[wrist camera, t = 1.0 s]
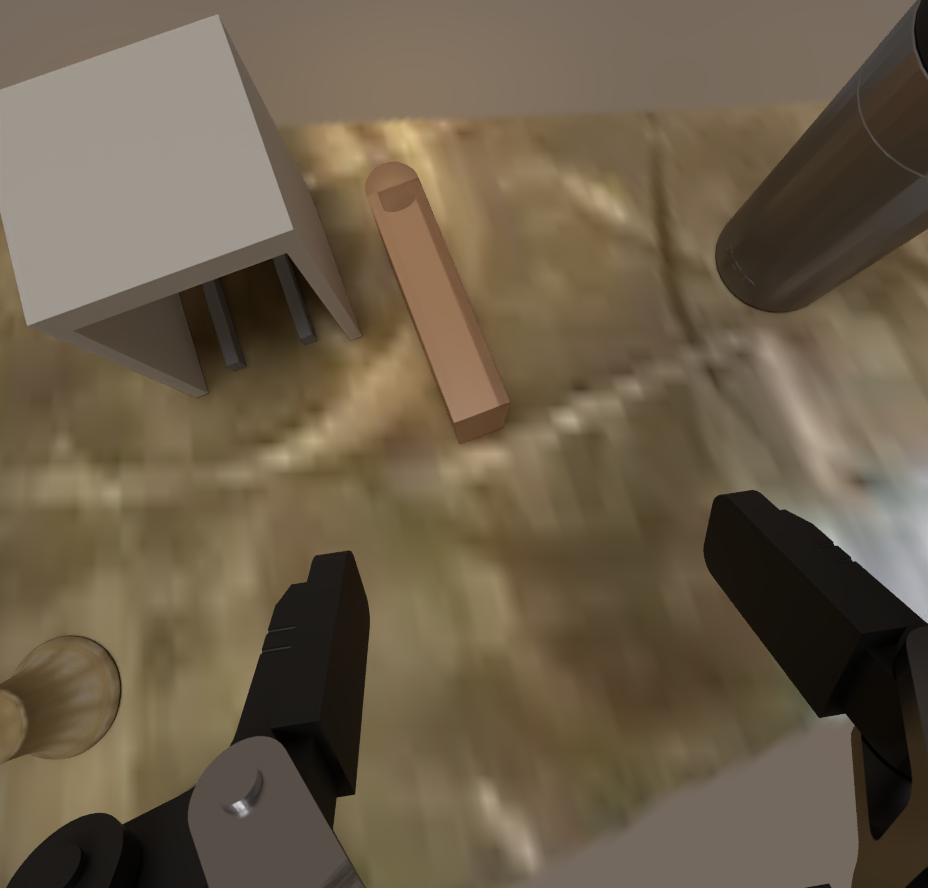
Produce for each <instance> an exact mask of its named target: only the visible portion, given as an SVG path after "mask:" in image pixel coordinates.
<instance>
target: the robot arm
mask: <svg viewBox="0 0 928 888" xmlns="http://www.w3.org/2000/svg"><path fill="white" fill-rule="evenodd" d="M927 229H928V0H917V1H916V2H915V3H914V4H913V5H912V7H911V8H910V9H909V10H908V11H907V13H906V14H905V15H904V16H903V17H902V18H901V20H900V21H899V22H898V23H897V24H896V25H895V27H894V28H893V29H892V30H891V31H890V32H889V34H888V35H887V36H886V37H885V38H884V40H883V41H882V42H881V43H880V44H879V45H878V47H877V48H876V50H874V52H873V53H872V54H871V55H870V56H869V58H868V59H867V60H866V61H865V62H864V64H863V65H862V66H861V67H860V68H859V69H858V71H857V72H856V73H855V74H854V75H853V76H852V78H851V79H850V80H849V81H848V82H847V84H846V85H845V86H844V87H843V88H842V90H841V91H840V92H839V93H838V94H837V95H836V96H835V98H834V99H833V100H832V101H831V102H830V104H829V105H828V106H827V107H826V108H825V109H824V111H823V112H822V113H821V114H820V115H819V116H818V118H817V119H816V120H815V121H814V122H813V124H812V125H811V126H810V127H809V128H808V129H807V131H806V132H805V133H804V134H803V135H802V136H801V138H800V139H799V140H798V141H797V142H796V143H795V145H794V146H793V147H792V148H791V149H790V151H789V152H788V153H787V154H786V155H785V156H784V158H783V159H782V160H781V161H780V162H779V163H778V165H777V166H776V167H775V168H774V169H773V171H772V172H771V173H770V174H769V175H768V176H767V178H766V179H765V180H764V181H763V182H762V183H761V185H760V186H759V187H758V188H757V189H756V190H755V191H754V193H753V194H752V195H751V196H750V197H749V199H748V200H747V201H746V202H745V203H744V204H743V206H742V207H741V208H740V209H739V210H738V212H737V213H736V214H735V215H734V216H733V217H732V219H731V220H730V221H729V222H728V223H727V225H726V226H725V228H724V229H723V231H722V232H721V234H720V236H719V239H718V242H717V247H716V261H717V267H718V270H719V272H720V275H721V278H722V279H723V281H724V282H725V284H726V285H727V287H728V288H729V289H730V290H731V291H732V292H733V293H734V294H735V295H736V296H737V297H738V298H740V299H741V300H743V301H744V302H746V303H747V304H749V305H751V306H754V307H756V308H758V309H762V310H767V311H771V312H787V311H793V310H797V309H800V308H802V307H805V306H808V305H809V304H811V303H812V302H814V301H815V300H817V299H819V298H820V297H822V296H823V295H825V294H826V293H828V292H830V291H831V290H833V289H834V288H836V287H837V286H839V285H841V284H842V283H844V282H845V281H847V280H849V279H850V278H852V277H853V276H855V275H857V274H858V273H860V272H861V271H863V270H864V269H866V268H867V267H869V266H871V265H872V264H874V263H875V262H877V261H878V260H880V259H881V258H883V257H885V256H886V255H888V254H889V253H891V252H892V251H894V250H896V249H897V248H899V247H900V246H902V245H903V244H905V243H906V242H908V241H910V240H911V239H913V238H914V237H916V236H917V235H919V234H920V233H922V232H924V231H925V230H927ZM703 551H704V559H705V562H706V565H707V568H708V570H709V572H710V573H711V575H712V576H713V578H714V579H715V580H716V582H717V583H718V584H719V586H720V587H721V588H722V590H723V591H724V592H725V594H726V595H727V596H728V598H729V599H730V600H731V602H732V603H733V604H734V606H735V607H736V608H737V609H738V611H739V612H740V613H741V615H742V616H743V617H744V619H745V620H746V621H747V623H748V624H749V625H750V627H751V628H752V629H753V631H754V632H755V633H756V635H757V636H758V637H759V639H760V640H761V641H762V643H763V644H764V645H765V647H766V648H767V649H768V651H769V652H770V653H771V655H772V656H773V657H774V659H775V660H776V661H777V663H778V664H779V665H780V667H781V668H782V669H783V671H784V672H785V673H786V675H787V676H788V677H789V679H790V680H791V681H792V682H793V684H794V685H795V686H796V688H797V689H798V690H799V692H800V693H801V694H802V696H803V697H804V698H805V700H806V701H807V702H808V704H809V705H810V706H811V708H812V709H813V710H814V712H815V713H816V714H817V716H818V717H819V718H822V717H828V716H834V715H840V714H846V715H847V716H848V717H849V719H850V720H851V721H852V722H853V723H854V725H855V726H854V728H853V730H852V733H851V746H852V759H853V772H854V786H855V799H856V813H857V826H858V841H859V847H858V857H857V863H856V866H855V869H854V873H853V879H852V886H851V888H928V623H926V622H925V621H924V620H923V619H921V618H920V617H919V616H918V615H917V614H916V613H915V612H913V611H912V610H911V609H910V608H909V607H908V606H907V605H905V604H904V603H903V602H902V601H901V600H900V599H898V598H897V597H896V596H895V595H894V594H893V593H892V592H890V591H889V590H888V589H887V588H886V587H885V586H883V585H882V584H881V583H880V582H879V581H878V580H877V579H875V578H874V577H873V576H872V575H871V574H870V573H868V572H867V571H866V570H865V569H864V568H863V567H862V566H860V565H859V564H858V563H857V562H856V561H855V562H853V561H852V560H851V557H850V556H849V555H848V554H847V553H845V552H844V551H843V550H842V549H841V548H840V547H839V546H834V544H833V541H832V540H830V539H829V538H828V537H827V536H826V535H825V534H824V533H822V532H821V531H820V530H819V529H818V528H817V527H815V526H814V525H813V524H812V523H810V522H808V521H806V520H804V519H802V518H800V517H798V516H796V515H795V514H793V513H791V512H789V511H787V510H779V509H778V508H777V507H775V506H774V505H773V504H772V503H771V502H770V501H769V500H768V499H767V498H766V497H764V496H763V495H762V494H761V493H760V492H758V491H755V490H749V491H743V492H736V493H730V494H723V495H718V496H717V497H716V498H715V499H714V501H713V504H712V509H711V513H710V518H709V523H708V528H707V533H706V537H705V542H704V549H703ZM369 630H370V614H369V606H368V600H367V596H366V593H365V590H364V587H363V584H362V581H361V577H360V574H359V571H358V568H357V565H356V561H355V558H354V555H353V553H352V552H351V551H343V552H336V553H329V554H323V555H316V556H315V557H314V558H313V561H312V564H311V568H310V572H309V576H308V580H307V582H305V583H298V584H292V585H291V586H290V587H289V589H288V590H287V591H286V593H285V594H284V595H283V597H282V598H281V599H280V600H279V602H278V603H277V604H276V606H275V609H274V612H273V615H272V618H271V622H270V625H269V628H268V634H267V635H266V638H265V641H264V644H263V647H262V654H260V657H259V660H258V664H257V667H256V670H255V673H254V676H253V680H252V683H251V686H250V689H249V693H248V696H247V699H246V702H245V705H244V709H243V712H242V715H241V718H240V722H239V725H238V728H237V731H236V734H235V737H234V739H233V741H232V743H231V745H230V747H229V748H228V749H226V750H225V751H223V752H222V753H221V754H220V755H219V756H218V757H216V759H215V760H214V761H213V762H212V763H211V764H210V765H209V766H208V767H207V769H206V770H205V771H204V773H203V774H202V776H201V777H200V779H199V781H198V782H197V784H196V785H195V786H194V787H193V788H191V789H190V790H188V791H187V792H185V793H183V794H181V795H180V796H178V797H176V798H174V799H172V800H170V801H168V802H166V803H164V804H162V805H160V806H158V807H156V808H154V809H152V810H150V811H148V812H146V813H144V814H142V815H140V816H138V817H136V818H134V819H132V820H130V821H128V822H126V823H125V824H123V825H122V824H121V823H120V822H119V821H118V820H117V819H116V818H114V817H113V816H112V815H109V814H106V813H94V814H89V815H85V816H82V817H80V818H77V819H75V820H73V821H71V822H69V823H68V824H66V825H64V826H63V827H61V828H60V829H58V830H57V831H56V832H54V833H53V834H52V835H50V836H49V837H48V838H47V839H46V840H44V841H43V842H42V843H41V844H40V845H39V846H38V847H37V848H36V849H35V850H34V851H33V852H32V853H31V854H30V855H29V856H28V858H27V859H26V860H25V861H24V862H23V864H22V865H21V866H20V867H19V869H18V870H17V872H16V873H15V874H14V876H13V877H12V879H11V880H10V882H9V884H8V885H7V887H6V888H366V887H365V886H364V884H363V882H362V880H361V878H360V877H359V875H358V873H357V871H356V870H355V868H354V866H353V864H352V863H351V861H350V859H349V857H348V856H347V854H346V852H345V850H344V849H343V847H342V845H341V843H340V842H339V840H338V838H337V836H336V834H335V833H334V831H333V824H334V815H335V807H336V798H337V797H343V796H349V795H354V794H355V790H356V778H357V767H358V755H359V744H360V733H361V721H362V710H363V698H364V687H365V675H366V664H367V653H368V641H369ZM808 888H831V886H830V885H829V884H824V885H819V886H813V887H808Z"/></svg>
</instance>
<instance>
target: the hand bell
mask: <svg viewBox="0 0 928 888" xmlns="http://www.w3.org/2000/svg"><path fill="white" fill-rule="evenodd" d="M119 697H120V680H119V676H118V671H117V668H116V666H115V664H114V662H113V660H112V659H111V657H110V656H109V655H108V653H107V652H106V651H105V650H104V649H103V648H102V647H101V646H99V645H98V644H97V643H95V642H93V641H91V640H89V639H86V638H83V637H77V636H64V637H58V638H55V639H52V640H49V641H47V642H45V643H43V644H41V645H40V646H38V647H37V648H35V649H34V650H33V651H31V652H30V653H29V654H28V655H27V656H26V657H25V658H24V659H23V661H22V662H21V663H20V664H19V665H18V667H17V668H16V670H15V671H14V673H13V675H12V677H11V678H10V679H8V680H7V681H5V682H3V683H1V684H0V764H2V763H4V762H6V761H9V760H12V759H14V758H17V757H20V756H23V755H26V754H31V755H33V756H36V757H39V758H43V759H65V758H70V757H73V756H76V755H79V754H81V753H83V752H85V751H86V750H88V749H89V748H91V747H92V746H93V745H94V744H96V743H97V742H98V741H99V740H100V739H101V738H102V737H103V736H104V734H105V733H106V732H107V730H108V729H109V727H110V725H111V724H112V722H113V720H114V718H115V715H116V712H117V709H118V705H119Z"/></svg>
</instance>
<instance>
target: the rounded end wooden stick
mask: <svg viewBox="0 0 928 888" xmlns="http://www.w3.org/2000/svg"><path fill="white" fill-rule="evenodd" d="M365 191H366V195H367V198H368V201H369V204H370V207H371V210H372V213H373V216H374V218H375V221H376V224H377V227H378V230H379V233H380V236H381V239H382V242H383V244H384V247H385V250H386V253H387V256H388V259H389V262H390V264H391V267H392V270H393V272H394V275H395V277H396V280H397V283H398V285H399V288H400V290H401V293H402V296H403V298H404V301H405V304H406V306H407V309H408V311H409V314H410V317H411V319H412V322H413V324H414V327H415V330H416V332H417V335H418V337H419V340H420V343H421V345H422V348H423V350H424V353H425V356H426V358H427V361H428V364H429V366H430V369H431V371H432V374H433V377H434V379H435V382H436V384H437V387H438V390H439V392H440V395H441V397H442V400H443V403H444V405H445V408H446V410H447V413H448V416H449V418H450V421H451V424H452V426H453V429H454V431H455V434H456V437H457V439H458V442H459V444H461V443H463V442H466V441H469V440H471V439H474V438H477V437H479V436H482V435H485V434H487V433H490V432H492V431H495V430H498V429H500V428H503V426H504V422H505V419H506V415H507V411H508V408H509V404H510V400H509V398H508V395H507V393H506V391H505V388H504V386H503V383H502V381H501V378H500V376H499V373H498V371H497V369H496V366H495V364H494V361H493V359H492V356H491V354H490V351H489V349H488V346H487V344H486V342H485V339H484V337H483V334H482V332H481V329H480V327H479V324H478V322H477V320H476V317H475V315H474V312H473V310H472V307H471V305H470V302H469V300H468V298H467V295H466V293H465V290H464V288H463V285H462V283H461V280H460V278H459V275H458V273H457V271H456V268H455V266H454V263H453V261H452V258H451V256H450V253H449V251H448V249H447V246H446V244H445V241H444V239H443V236H442V234H441V231H440V229H439V226H438V224H437V222H436V219H435V217H434V214H433V212H432V209H431V207H430V204H429V202H428V200H427V197H426V195H425V192H424V190H423V187H422V185H421V182H420V180H419V178H418V175H417V174H416V172H415V171H414V170H413V169H412V168H411V167H409V166H408V165H405V164H403V163H398V162H390V163H385V164H382V165H380V166H378V167H377V168H375V169H374V170H373V171H372V172H371V173H370V175H369V176H368V178H367V181H366V186H365Z"/></svg>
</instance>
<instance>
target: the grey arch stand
mask: <svg viewBox="0 0 928 888" xmlns="http://www.w3.org/2000/svg"><path fill="white" fill-rule="evenodd" d="M0 213H1V217H2V221H3V225H4V230H5V234H6V238H7V242H8V247H9V251H10V255H11V259H12V264H13V268H14V272H15V276H16V281H17V285H18V289H19V294H20V298H21V302H22V306H23V311H24V315H25V319H26V323H27V326H29V327H31V328H33V329H36V330H38V331H40V332H43V333H45V334H47V335H50V336H52V337H54V338H57V339H59V340H61V341H64V342H66V343H69V344H71V345H73V346H76V347H78V348H80V349H83V350H85V351H87V352H90V353H92V354H94V355H97V356H99V357H101V358H104V359H106V360H109V361H111V362H113V363H116V364H118V365H120V366H123V367H125V368H127V369H130V370H132V371H134V372H137V373H139V374H142V375H144V376H146V377H149V378H151V379H153V380H156V381H158V382H160V383H163V384H165V385H167V386H170V387H172V388H174V389H177V390H179V391H182V392H184V393H186V394H189V395H191V396H193V397H196V398H197V397H200V396H202V395H205V394H208V391H207V387H206V384H205V381H204V377H203V374H202V371H201V367H200V364H199V360H198V357H197V354H196V350H195V347H194V344H193V340H192V337H191V334H190V330H189V327H188V323H187V320H186V317H185V313H184V310H183V307H182V303H181V300H180V296H179V293H178V292H181V291H184V290H186V289H189V288H192V287H195V286H197V285H200V284H201V285H202V288H203V291H204V294H205V298H206V301H207V304H208V307H209V311H210V314H211V317H212V320H213V324H214V327H215V330H216V333H217V337H218V340H219V343H220V346H221V350H222V353H223V356H224V360H225V363H226V366H227V367H229V368H230V369H232V370H234V371H236V370H239V369H241V368H244V367H246V364H245V361H244V357H243V354H242V351H241V348H240V345H239V341H238V338H237V335H236V332H235V329H234V325H233V322H232V319H231V316H230V313H229V310H228V306H227V303H226V300H225V297H224V294H223V290H222V287H221V284H220V281H219V277H222V276H225V275H228V274H230V273H233V272H236V271H239V270H241V269H244V268H247V267H250V266H252V265H255V264H258V263H261V262H263V261H266V260H269V259H273V262H274V265H275V267H276V270H277V273H278V276H279V279H280V282H281V285H282V288H283V291H284V294H285V297H286V300H287V303H288V306H289V309H290V312H291V315H292V318H293V321H294V324H295V327H296V330H297V333H298V336H299V339H300V340H301V341H302V342H303V343H304V344H305V345H306V344H309V343H312V342H314V341H317V339H316V336H315V333H314V330H313V327H312V324H311V321H310V318H309V315H308V313H307V310H306V307H305V304H304V301H303V298H302V295H301V292H300V289H299V286H298V283H297V281H296V278H295V275H294V272H293V269H292V266H291V263H290V260H289V257H290V258H291V259H292V261H293V262H294V263H295V265H296V266H297V268H298V269H299V270H300V272H301V273H302V275H303V276H304V277H305V279H306V280H307V281H308V283H309V284H310V286H311V287H312V288H313V290H314V291H315V293H316V294H317V295H318V297H319V298H320V299H321V301H322V302H323V304H324V305H325V306H326V308H327V309H328V310H329V312H330V313H331V315H332V316H333V317H334V319H335V320H336V322H337V323H338V324H339V326H340V327H341V328H342V330H343V331H344V333H345V334H346V335H347V337H348V338H349V340H350V341H351V340H354V339H356V338H359V337H362V335H361V332H360V329H359V327H358V324H357V321H356V318H355V315H354V313H353V310H352V307H351V304H350V302H349V299H348V296H347V293H346V291H345V288H344V285H343V282H342V280H341V277H340V274H339V271H338V268H337V266H336V263H335V260H334V257H333V255H332V252H331V249H330V246H329V244H328V241H327V238H326V235H325V233H324V230H323V227H322V224H321V222H320V219H319V216H318V213H317V210H316V208H315V205H314V202H313V199H312V197H311V194H310V191H309V189H308V187H307V185H306V183H305V181H304V179H303V177H302V175H301V174H300V172H299V170H298V168H297V166H296V164H295V162H294V160H293V158H292V156H291V154H290V152H289V150H288V148H287V146H286V145H285V143H284V141H283V139H282V137H281V135H280V133H279V131H278V129H277V127H276V125H275V123H274V121H273V119H272V118H271V115H270V114H269V112H268V110H267V108H266V106H265V104H264V102H263V100H262V98H261V96H260V94H259V92H258V90H257V88H256V86H255V85H254V83H253V81H252V79H251V77H250V75H249V73H248V71H247V69H246V67H245V65H244V63H243V61H242V59H241V57H240V55H239V54H238V52H237V50H236V48H235V46H234V44H233V42H232V40H231V38H230V36H229V34H228V32H227V30H226V28H225V27H224V24H223V23H222V21H221V19H220V17H219V15H218V14H217V15H214V16H211V17H209V18H206V19H203V20H200V21H197V22H194V23H191V24H188V25H186V26H182V27H180V28H177V29H174V30H171V31H168V32H165V33H162V34H159V35H157V36H154V37H151V38H148V39H145V40H142V41H139V42H136V43H134V44H131V45H128V46H125V47H122V48H120V49H116V50H113V51H110V52H108V53H105V54H102V55H99V56H96V57H93V58H90V59H87V60H85V61H82V62H79V63H76V64H73V65H70V66H67V67H64V68H62V69H59V70H56V71H53V72H50V73H47V74H44V75H42V76H38V77H35V78H33V79H30V80H27V81H24V82H21V83H18V84H15V85H12V86H10V87H7V88H4V89H1V90H0ZM288 255H289V257H288Z"/></svg>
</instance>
